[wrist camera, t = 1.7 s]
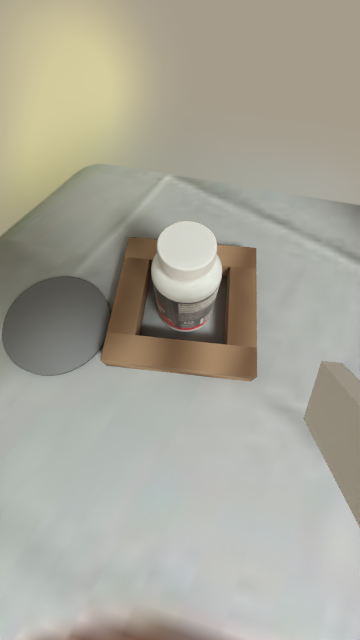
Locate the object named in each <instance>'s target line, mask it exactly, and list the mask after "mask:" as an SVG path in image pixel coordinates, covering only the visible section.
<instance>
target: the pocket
mask: <svg viewBox="0 0 360 640" xmlns="http://www.w3.org/2000/svg"><path fill="white" fill-rule="evenodd" d="M157 241H158V239H147V238H136V237H129V239H128V244H127V248H126V252H125V257H124V261H123V265H122V269H121V274H120V278H119V282H118V287H117V291H116V295H115V300H114V304H113V308H112V312H111V317H110V321H109V325H108V330H107V334H106V338H105V342H104V347H103V351H102V355H101V361H102V362H103V363H104V364H106V365H107V366H116V367H125V368H134V369H143V370H152V371H161V372H171V373H180V374H189V375H198V376H207V377H216V378H225V379H234V380H243V381H252V380H253V379H255V378H256V377H257V318H256V248H250V247H239V246H227V245H217V255H218V257H219V258H220V261H221V265H222V277H226V278H227V290H226V312H225V333H224V344H216V343H206V342H197V341H187V340H178V339H168V338H158V337H149V336H140V331H141V326H142V320H143V314H144V309H145V303H146V298H147V292H148V287H149V281H150V276H151V266H152V262H153V259H154V257H155V255H156V254H157Z"/></svg>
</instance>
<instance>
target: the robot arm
mask: <svg viewBox="0 0 360 640" xmlns="http://www.w3.org/2000/svg"><path fill="white" fill-rule="evenodd" d="M304 420H305V422H306V424H307V426H308V428H309V430H310V432H311V434H312V436H313V438H314V440H315V441H316V443H317V445H318V447H319V449H320V451H321V453H322V455H323V457H324V459H325V461H326V463H327V465H328V467H329V469H330V471H331V472H332V474H333V476H334V478H335V480H336V482H337V484H338V486H339V488H340V490H341V492H342V494H343V496H344V498H345V500H346V502H347V503H348V505H349V507H350V509H351V511H352V513H353V515H354V517H355V519H356V521H357V523H358V525H359V527H360V381H359V379H358V378H357V377H356V376H355V375H354V374H353V373H352V372H351V371H350V370H349V369H348V368H347V367H346V366H345V365H344V364H343V363H337V362H326V361H322V362H321V365H320V368H319V371H318V375H317V378H316V381H315V384H314V387H313V390H312V394H311V397H310V400H309V403H308V406H307V409H306V412H305V416H304Z"/></svg>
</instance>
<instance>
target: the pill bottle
mask: <svg viewBox="0 0 360 640" xmlns="http://www.w3.org/2000/svg"><path fill="white" fill-rule="evenodd" d="M151 275H152V281H153V286H154V291H155V296H156V301H157V307H158V311H159V314H160V317H161V319H162V320H163V322H164V323H165V324H166V325H167V326H169V327H170V328H172V329H174V330H176V331H181V332H191V331H194V330H197V329H199V328H201V327H202V326H204V325H205V324H206V323H207V321H208V320H209V318H210V316H211V314H212V310H213V307H214V304H215V300H216V296H217V293H218V289H219V285H220V282H221V278H222V265H221V261H220V258H219V257H218V255H217V241H216V238H215V236H214V234H213V233H212V232H211V231H210V230H209V229H208V228H207V227H206V226H204V225H202V224H200V223H197V222H192V221H182V222H177V223H174V224H172V225H170V226H168V227H167V228H166V229H164V230H163V231H162V233H161V234H160V236H159V238H158V241H157V254H156V255H155V257H154V259H153V262H152V266H151Z"/></svg>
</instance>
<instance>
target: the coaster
mask: <svg viewBox="0 0 360 640" xmlns="http://www.w3.org/2000/svg"><path fill="white" fill-rule="evenodd" d="M110 317H111V316H110V310H109V306H108V304H107V301H106V299H105V298H104V296H103V295H102V293H101V292H100V291H99V290H98V289H97V288H96V287H95V286H94V285H92V284H91V283H89V282H87V281H85V280H82V279H79V278H73V277H57V278H52V279H48V280H45V281H42V282H40V283H38V284H36V285H34V286H32V287H31V288H29V289H28V290H26V291H25V292H24V293H23V294H21V295H20V296H19V297H18V299H17V300H16V301H15V302H14V303H13V305H12V306H11V308H10V309H9V311H8V313H7V315H6V318H5V321H4V324H3V329H2V339H3V345H4V348H5V350H6V353H7V354H8V356H9V357H10V359H11V360H12V361H13V362H14V363H15V364H16V365H17V366H19V367H20V368H22V369H24V370H26V371H28V372H31V373H34V374H38V375H46V376H52V375H60V374H64V373H67V372H70V371H73V370H75V369H77V368H79V367H81V366H82V365H84V364H85V363H87V362H88V361H89V360H90V359H92V358H93V357H94V356H95V355H96V354H97V352H98V351H99V350H100V348H101V347H102V345H103V344H104V342H105V338H106V334H107V330H108V325H109V321H110Z"/></svg>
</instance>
